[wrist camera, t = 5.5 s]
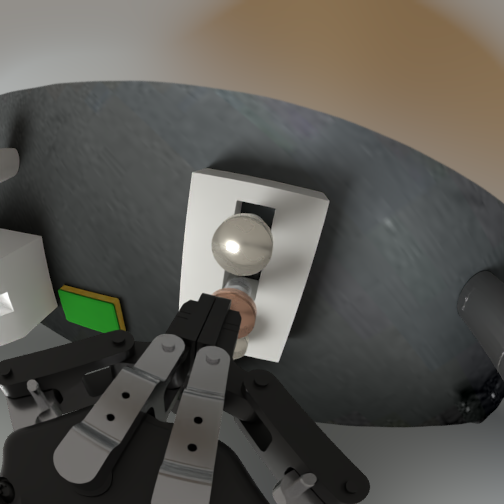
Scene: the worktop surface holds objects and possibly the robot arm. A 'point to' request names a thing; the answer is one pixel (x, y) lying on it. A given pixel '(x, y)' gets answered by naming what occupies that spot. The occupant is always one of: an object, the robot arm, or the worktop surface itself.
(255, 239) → the knob
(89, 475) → the robot arm
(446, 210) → the worktop surface
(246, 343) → the knob
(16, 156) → the dixie cup
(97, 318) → the dish sponge
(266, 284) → the mount
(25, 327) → the white house-shaped block
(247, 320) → the knob centre
